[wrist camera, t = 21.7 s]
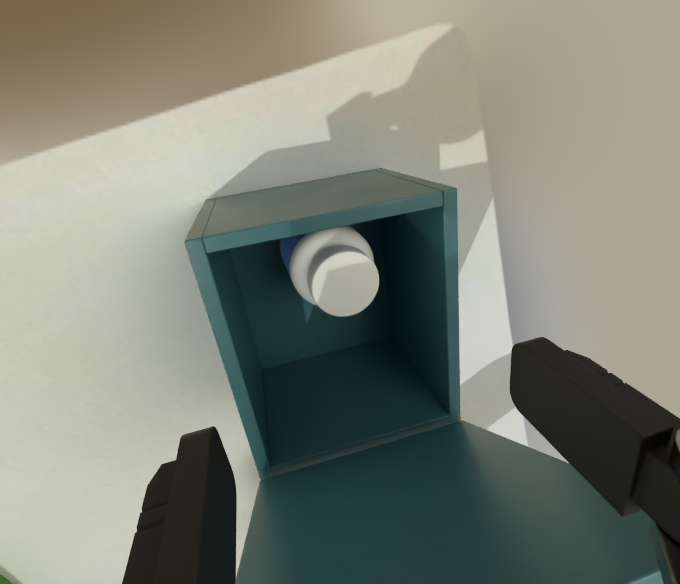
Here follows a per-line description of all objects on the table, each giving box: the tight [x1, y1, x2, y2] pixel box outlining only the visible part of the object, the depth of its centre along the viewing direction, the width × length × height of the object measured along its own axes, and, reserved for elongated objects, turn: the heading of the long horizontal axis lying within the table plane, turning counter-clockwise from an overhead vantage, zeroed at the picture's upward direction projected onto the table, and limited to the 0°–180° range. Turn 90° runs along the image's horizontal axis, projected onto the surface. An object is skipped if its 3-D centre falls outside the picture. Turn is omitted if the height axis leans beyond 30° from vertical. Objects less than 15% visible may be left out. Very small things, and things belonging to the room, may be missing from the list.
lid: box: [235, 421, 663, 584], centre depth 16 cm, size 16×14×6 cm
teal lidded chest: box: [185, 168, 460, 480], centre depth 27 cm, size 16×14×12 cm
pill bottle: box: [278, 225, 379, 317], centre depth 26 cm, size 6×5×10 cm
